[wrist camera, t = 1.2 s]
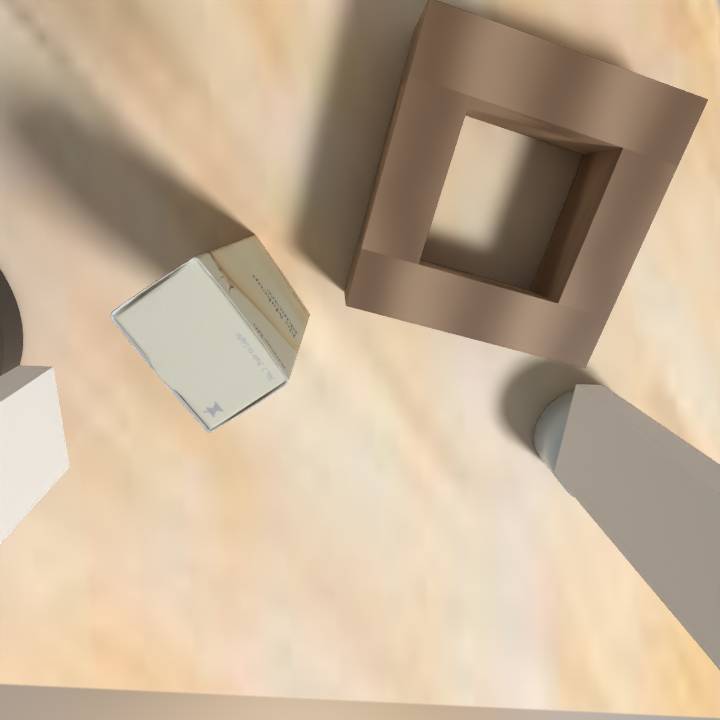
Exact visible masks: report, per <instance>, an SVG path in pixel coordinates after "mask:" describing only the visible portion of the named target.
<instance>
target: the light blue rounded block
mask: <svg viewBox="0 0 720 720" xmlns="http://www.w3.org/2000/svg"><path fill="white" fill-rule="evenodd" d="M573 395H574V390H572V391H569V392H567V393H565V394H563V395H561V396H559V397H558V398H556V399H555V400H554V401H552V402H551V403H550V404H549V405H548V406H547V407H546V409H545V410H544V411H543V412H542V414H541V415H540V417H539V419H538V421H537V424H536V427H535V431H534V444H535V448H536V451H537V453H538V455H539V457H540V458H541V459H542V461H543V462H544V463H545V464H546V466H547V467H548V468H549V469H550V471H551V472H552V473H553V474H554V476H555V477H556V478H557V479H558V481H559V482H560V483H561V484H562V486H563V487H564V488H565V489H566V491H567V492H568V493H569V494H570V495H572V496H573V494H572V493H571V492H570V491H569V490H568V488H567V487H566V486H565V485H564V484H563V482H562V481H561V480H560V479H559V478H558V477H557V475H556V474H555V473H554V471H555V467H556V463H557V459H558V455H559V451H560V447H561V443H562V439H563V435H564V431H565V427H566V423H567V419H568V415H569V411H570V407H571V403H572V399H573ZM573 497H574V496H573Z"/></svg>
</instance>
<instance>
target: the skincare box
mask: <svg viewBox="0 0 720 720" xmlns="http://www.w3.org/2000/svg"><path fill="white" fill-rule="evenodd" d="M309 316H310V314H309V312H308V311H307V309H306V308H305V306H304V305H303V303H302V302H301V300H300V299H299V297H298V295H297V294H296V292H295V291H294V289H293V288H292V286H291V285H290V284H289V282H288V281H287V279H286V278H285V276H284V275H283V273H282V272H281V270H280V269H279V267H278V266H277V265H276V263H275V262H274V260H273V259H272V257H271V256H270V254H269V253H268V252H267V250H266V249H265V247H264V246H263V244H262V243H261V242H260V240H259V239H258V237H257V236H256V235H253V236H250V237H248V238H245V239H242V240H240V241H237V242H234V243H232V244H229V245H226V246H223V247H220V248H218V249H215V250H212V251H210V252H207V253H204V254H201V255H198V256H195V257H193V258H191V259H190V260H188V261H187V262H185V263H184V264H182V265H181V266H179V267H178V268H176V269H174V270H173V271H171V272H170V273H168V274H166V275H165V276H163V277H162V278H160V279H159V280H157V281H156V282H154V283H153V284H151V285H150V286H148V287H147V288H145V289H144V290H142V291H141V292H139V293H138V294H136V295H135V296H133V297H132V298H131V299H129V300H128V301H126V302H125V303H123V304H122V305H121V306H119V307H118V308H116V309H115V310H114V311H112V313H111V319H112V321H113V322H114V323H115V325H116V326H117V327H118V328H119V329H120V331H121V332H122V333H123V334H124V336H125V337H126V338H127V339H128V341H129V342H130V343H131V344H132V345H133V346H134V347H135V349H136V350H137V351H138V352H139V354H140V355H141V356H142V357H143V358H144V360H145V361H146V362H147V363H148V364H149V366H150V367H151V368H152V369H153V371H154V372H155V373H156V374H157V375H158V377H159V378H160V379H161V380H162V381H163V382H164V383H165V385H166V386H167V387H168V388H169V389H170V390H171V391H172V392H173V394H174V395H175V396H176V397H177V398H178V399H179V400H180V402H181V403H182V404H183V405H184V406H185V407H186V408H187V410H188V411H189V412H190V413H191V414H192V415H193V416H194V418H195V419H196V420H197V421H198V422H199V423H200V424H201V425H202V427H203V428H204V429H205V430H206V431H207V432H208V433H211V432H212V431H214V430H215V429H217V428H219V427H221V426H223V425H224V424H226V423H227V422H229V421H230V420H232V419H234V418H236V417H237V416H239V415H241V414H242V413H244V412H245V411H247V410H248V409H250V408H252V407H253V406H255V405H256V404H258V403H260V402H261V401H263V400H264V399H266V398H267V397H269V396H270V395H272V394H273V393H275V392H276V391H277V390H279V389H280V388H282V387H283V386H285V385H286V384H287V383H288V381H289V378H290V375H291V372H292V369H293V366H294V363H295V360H296V356H297V353H298V350H299V347H300V344H301V341H302V338H303V335H304V331H305V328H306V325H307V322H308V319H309Z"/></svg>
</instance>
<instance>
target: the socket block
mask: <svg viewBox="0 0 720 720" xmlns="http://www.w3.org/2000/svg"><path fill="white" fill-rule="evenodd" d="M707 101H708V99H705V98H703V97H700V96H697V95H694V94H692V93H689V92H686V91H684V90H681V89H678V88H675V87H673V86H670V85H667V84H664V83H662V82H659V81H656V80H653V79H651V78H648V77H645V76H643V75H640V74H637V73H634V72H632V71H629V70H626V69H623V68H621V67H618V66H615V65H612V64H610V63H607V62H604V61H601V60H599V59H596V58H593V57H591V56H588V55H585V54H582V53H580V52H577V51H574V50H571V49H569V48H566V47H563V46H560V45H558V44H555V43H552V42H549V41H547V40H544V39H541V38H539V37H536V36H533V35H530V34H528V33H525V32H522V31H519V30H517V29H514V28H511V27H508V26H506V25H503V24H500V23H498V22H495V21H492V20H489V19H487V18H484V17H481V16H478V15H476V14H473V13H470V12H467V11H465V10H462V9H459V8H456V7H454V6H451V5H448V4H446V3H443V2H440V1H437V0H429V1H428V3H427V5H426V7H425V9H424V11H423V13H422V15H421V17H420V19H419V22H418V24H417V26H416V28H415V31H414V35H413V39H412V43H411V46H410V50H409V54H408V58H407V61H406V65H405V69H404V72H403V76H402V80H401V84H400V87H399V91H398V95H397V98H396V102H395V106H394V110H393V113H392V117H391V121H390V124H389V128H388V132H387V136H386V139H385V143H384V147H383V151H382V154H381V158H380V162H379V165H378V169H377V173H376V177H375V180H374V184H373V188H372V191H371V195H370V199H369V203H368V206H367V210H366V214H365V217H364V221H363V225H362V229H361V232H360V236H359V240H358V244H357V247H356V251H355V255H354V258H353V262H352V266H351V270H350V273H349V277H348V281H347V284H346V288H345V292H344V293H345V301H346V306H349V307H353V308H356V309H360V310H364V311H368V312H372V313H376V314H379V315H383V316H387V317H391V318H395V319H399V320H402V321H406V322H410V323H414V324H418V325H421V326H425V327H429V328H433V329H437V330H441V331H444V332H448V333H452V334H456V335H460V336H464V337H467V338H471V339H475V340H479V341H483V342H487V343H490V344H494V345H498V346H502V347H506V348H510V349H513V350H517V351H521V352H525V353H529V354H532V355H536V356H540V357H544V358H548V359H552V360H555V361H559V362H563V363H567V364H571V365H575V366H578V367H582V368H586V366H587V363H588V361H589V359H590V357H591V355H592V352H593V350H594V348H595V346H596V344H597V342H598V339H599V337H600V335H601V333H602V331H603V328H604V326H605V324H606V322H607V320H608V317H609V315H610V313H611V311H612V309H613V307H614V304H615V302H616V300H617V298H618V296H619V293H620V291H621V289H622V287H623V285H624V283H625V280H626V278H627V276H628V274H629V272H630V269H631V267H632V265H633V263H634V261H635V258H636V256H637V254H638V252H639V250H640V248H641V245H642V243H643V241H644V239H645V237H646V234H647V232H648V230H649V228H650V226H651V223H652V221H653V219H654V217H655V215H656V213H657V210H658V208H659V206H660V204H661V202H662V199H663V197H664V195H665V193H666V191H667V188H668V186H669V184H670V182H671V180H672V178H673V175H674V173H675V171H676V169H677V167H678V164H679V162H680V160H681V158H682V156H683V154H684V151H685V149H686V147H687V145H688V143H689V140H690V138H691V136H692V134H693V132H694V129H695V127H696V125H697V123H698V121H699V119H700V116H701V114H702V112H703V110H704V108H705V105H706V103H707ZM465 115H466V116H469V117H472V118H475V119H478V120H481V121H484V122H487V123H490V124H493V125H496V126H499V127H502V128H505V129H508V130H511V131H514V132H517V133H520V134H523V135H526V136H529V137H532V138H535V139H538V140H541V141H544V142H547V143H550V144H553V145H556V146H559V147H562V148H565V149H568V150H571V151H574V152H577V153H580V154H583V155H584V156H583V159H582V161H581V164H580V166H579V169H578V171H577V174H576V176H575V179H574V181H573V184H572V186H571V189H570V191H569V194H568V196H567V199H566V201H565V204H564V207H563V209H562V212H561V214H560V217H559V219H558V222H557V224H556V227H555V229H554V232H553V234H552V237H551V239H550V242H549V244H548V247H547V250H546V252H545V255H544V257H543V260H542V262H541V265H540V267H539V270H538V272H537V275H536V277H535V280H534V282H533V285H532V287H531V290H526V289H523V288H519V287H516V286H512V285H509V284H505V283H501V282H498V281H494V280H491V279H487V278H484V277H480V276H477V275H473V274H470V273H466V272H462V271H459V270H455V269H452V268H448V267H445V266H441V265H438V264H434V263H430V262H427V261H423V260H420V258H421V255H422V252H423V248H424V245H425V242H426V239H427V236H428V233H429V229H430V226H431V223H432V220H433V217H434V213H435V210H436V207H437V204H438V201H439V197H440V194H441V191H442V188H443V185H444V181H445V178H446V175H447V172H448V169H449V166H450V162H451V159H452V156H453V153H454V150H455V146H456V143H457V140H458V137H459V134H460V130H461V127H462V124H463V121H464V118H465Z"/></svg>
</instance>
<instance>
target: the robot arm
mask: <svg viewBox="0 0 720 720" xmlns="http://www.w3.org/2000/svg"><path fill="white" fill-rule="evenodd" d="M22 350H23V329H22V322H21V317H20V312H19V309H18V305H17V302H16V300H15V297H14V294H13V292H12V290H11V288H10V286H9V284H8V282H7V280H6V278H5V276H4V275H3V273H2V272H1V270H0V544H1V543H2V542H3V541H4V540H5V538H6V537H7V536H8V535H9V534H10V533H11V532H12V531H13V530H14V528H15V527H16V526H17V525H18V524H19V523H20V522H21V521H22V519H23V518H24V517H25V516H26V515H27V514H28V513H29V512H30V511H31V509H32V508H33V507H34V506H35V505H36V504H37V503H38V502H39V500H40V499H41V498H42V497H43V496H44V495H45V494H46V493H47V492H48V490H49V489H50V488H51V487H52V486H53V485H54V484H55V483H56V482H57V480H58V479H59V478H60V477H61V476H62V475H63V474H64V473H65V471H66V470H67V469H68V468H69V467H70V466H69V460H68V454H67V448H66V442H65V436H64V430H63V424H62V418H61V411H60V405H59V399H58V393H57V387H56V381H55V375H54V369H53V367H44V366H19V365H20V361H21V356H22ZM554 473H555V474H556V475H557V477H558V478H559V479H560V480H561V481H562V482H563V484H564V485H565V486H566V487H567V488H568V490H569V491H570V492H571V493H572V494H573V496H574V497H575V498H576V499H577V500H578V502H579V503H580V504H581V505H582V506H583V508H584V509H585V510H586V511H587V512H588V513H589V515H590V516H591V517H592V518H593V519H594V521H595V522H596V523H597V524H598V525H599V527H600V528H601V529H602V530H603V531H604V533H605V534H606V535H607V536H608V537H609V539H610V540H611V541H612V542H613V543H614V544H615V546H616V547H617V548H618V549H619V550H620V552H621V553H622V554H623V555H624V556H625V558H626V559H627V560H628V561H629V562H630V564H631V565H632V566H633V567H634V568H635V570H636V571H637V572H638V573H639V574H640V575H641V577H642V578H643V579H644V580H645V581H646V583H647V584H648V585H649V586H650V587H651V589H652V590H653V591H654V592H655V593H656V595H657V596H658V597H659V598H660V599H661V601H662V602H663V603H664V604H665V605H666V606H667V608H668V609H669V610H670V611H671V612H672V614H673V615H674V616H675V617H676V618H677V620H678V621H679V622H680V623H681V624H682V626H683V627H684V628H685V629H686V630H687V632H688V633H689V634H690V635H691V636H692V637H693V639H694V640H695V641H696V642H697V643H698V645H699V646H700V647H701V648H702V649H703V651H704V652H705V653H706V654H707V655H708V657H709V658H710V659H711V660H712V661H713V663H714V664H715V665H716V666H717V667H718V668H719V670H720V464H718V463H717V462H715V461H714V460H712V459H711V458H709V457H708V456H706V455H705V454H704V453H702V452H701V451H699V450H698V449H696V448H695V447H693V446H692V445H690V444H689V443H687V442H686V441H684V440H683V439H682V438H680V437H679V436H677V435H676V434H674V433H673V432H671V431H670V430H668V429H667V428H665V427H664V426H662V425H661V424H660V423H658V422H657V421H655V420H654V419H652V418H651V417H649V416H648V415H646V414H645V413H643V412H642V411H640V410H639V409H638V408H636V407H635V406H633V405H632V404H630V403H629V402H627V401H626V400H624V399H623V398H621V397H620V396H618V395H617V394H616V393H614V392H613V391H611V390H610V389H608V388H607V387H605V386H604V385H589V384H576V386H575V390H574V395H573V399H572V403H571V407H570V411H569V415H568V419H567V423H566V427H565V431H564V435H563V439H562V443H561V447H560V451H559V455H558V459H557V463H556V467H555V471H554Z"/></svg>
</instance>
